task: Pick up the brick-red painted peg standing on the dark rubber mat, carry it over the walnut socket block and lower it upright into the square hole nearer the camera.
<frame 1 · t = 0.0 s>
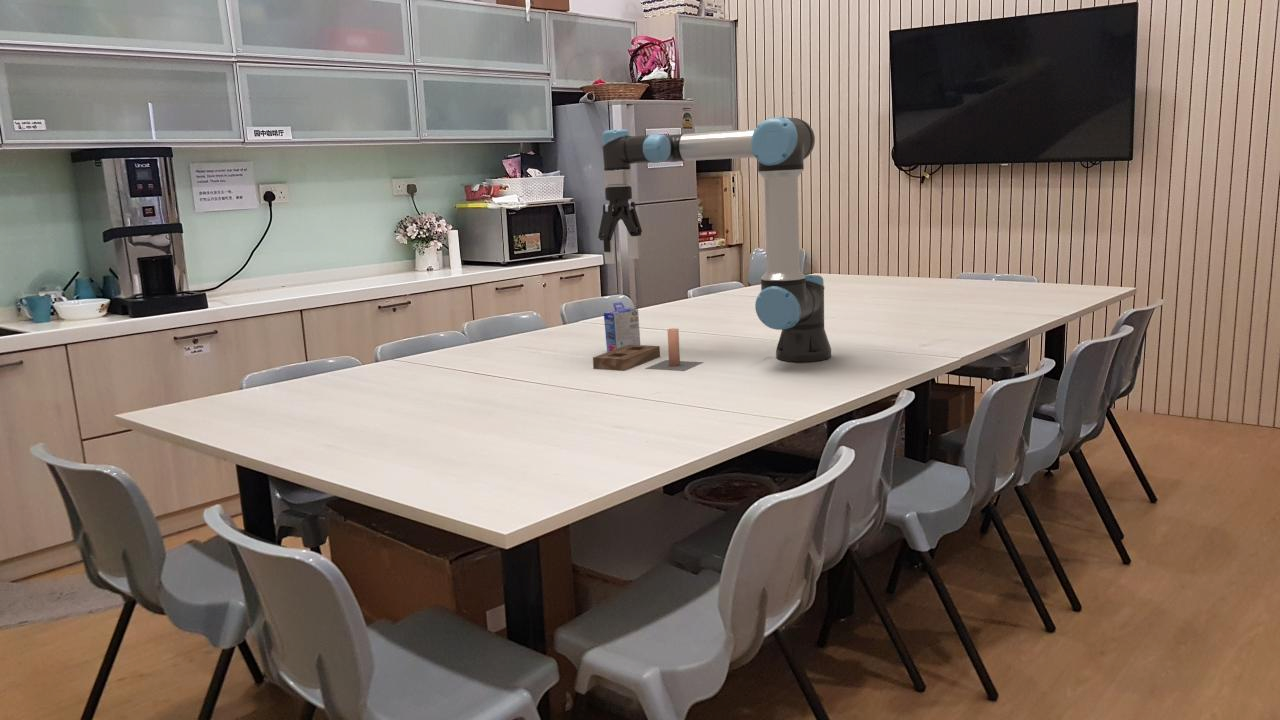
hand: (622, 261, 284), 28 cm above the table, fingers open, 13 cm apart
ink cartridge box: (623, 351, 301), on the table
mat: (674, 366, 272), on the table
socket block: (627, 363, 280), on the table
peg: (674, 365, 272), resting on mat
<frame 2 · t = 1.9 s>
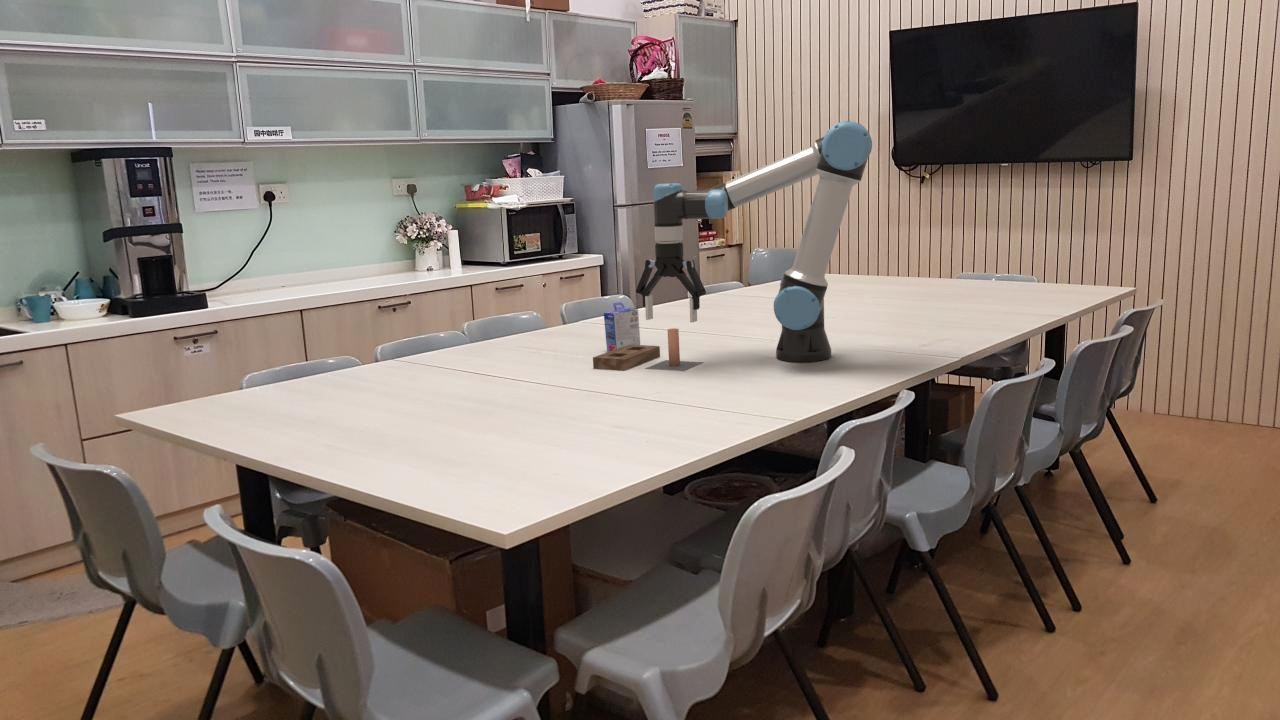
hand: (671, 320, 270), 13 cm above the table, fingers open, 13 cm apart
nothing on the table moved.
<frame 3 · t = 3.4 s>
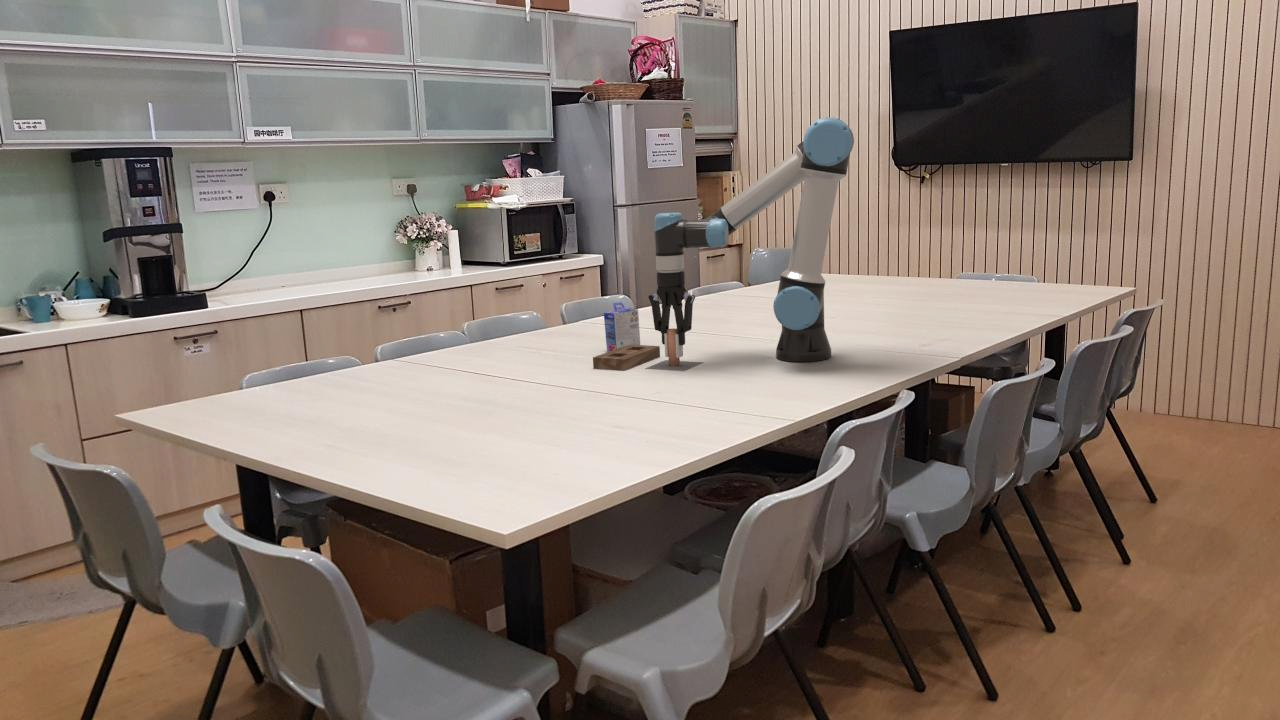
hand: (674, 356, 272), 3 cm above the table, fingers closed on peg, 3 cm apart
peg: (674, 365, 272), resting on mat, touching gripper
everything else where it was.
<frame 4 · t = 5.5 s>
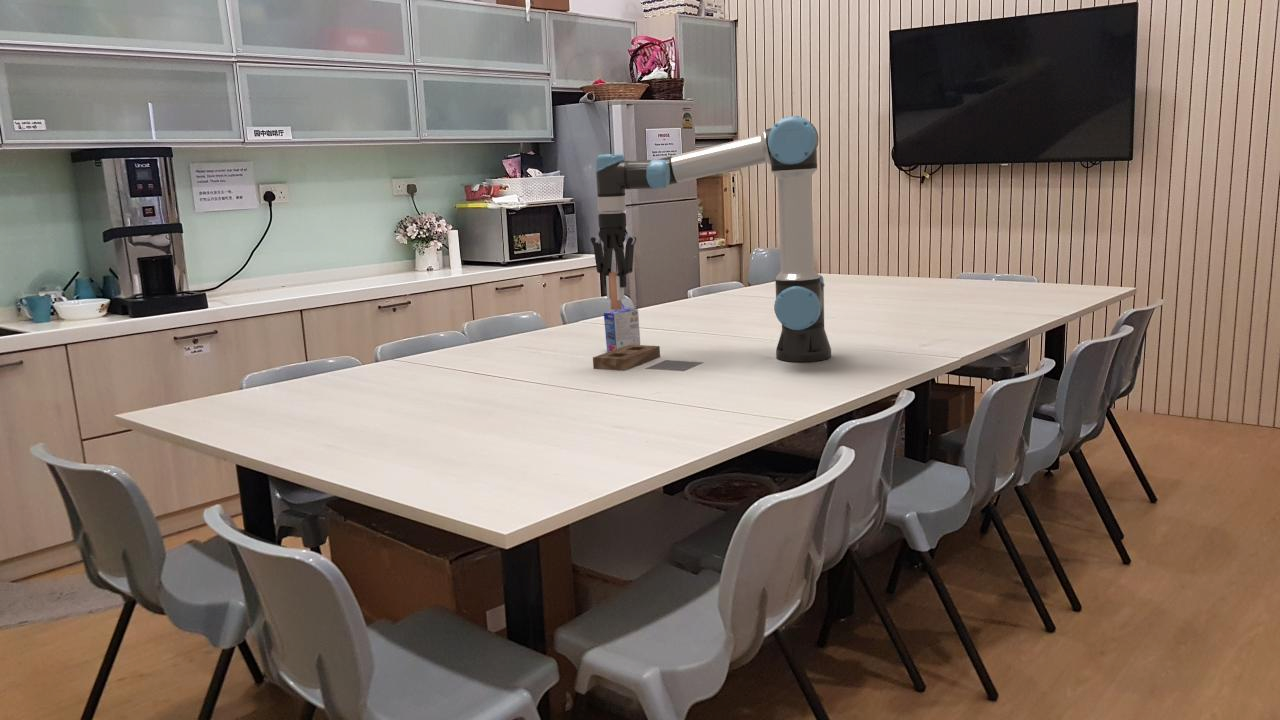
hand: (615, 299, 272), 19 cm above the table, fingers closed on peg, 2 cm apart
peg: (616, 309, 272), point 16 cm above the table, touching gripper
everything else where it was.
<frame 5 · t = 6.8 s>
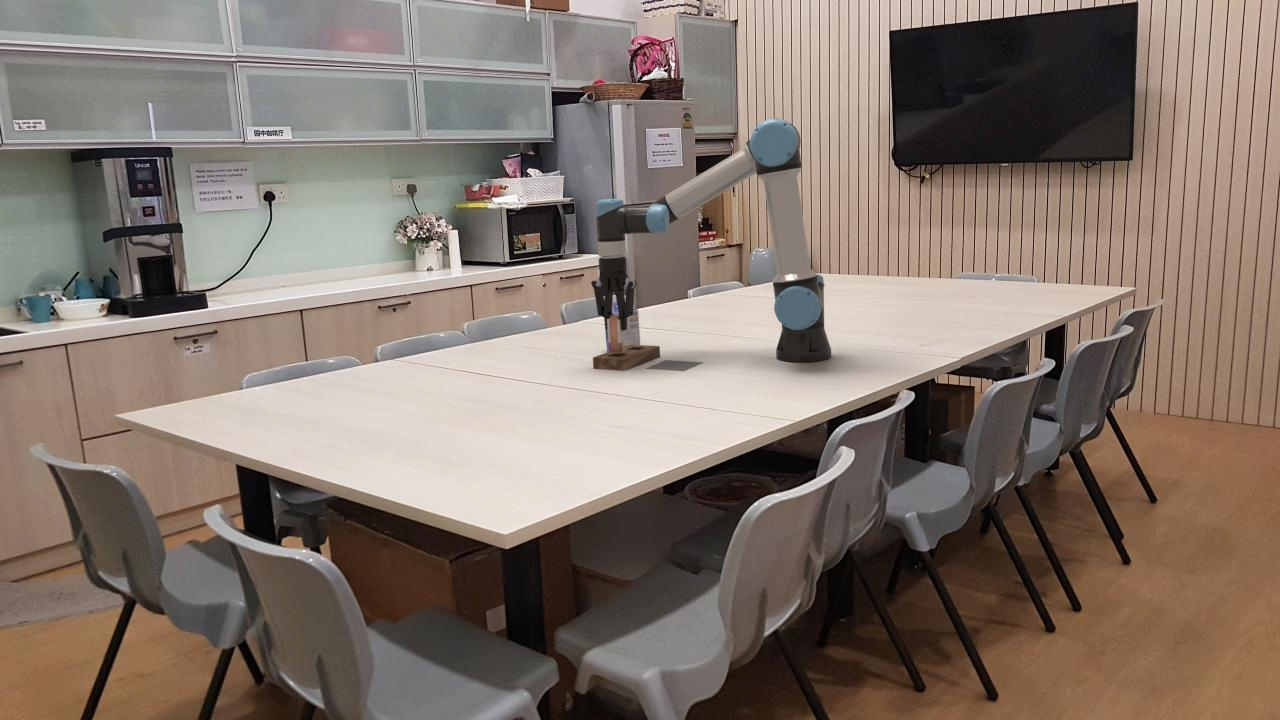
hand: (616, 341, 274), 7 cm above the table, fingers closed on peg, 2 cm apart
peg: (617, 351, 275), point 4 cm above the table, touching gripper
everything else where it was.
when the fingers open (4 cm above the table, at t = 7.6 s): peg drops 1 cm, resting in socket block.
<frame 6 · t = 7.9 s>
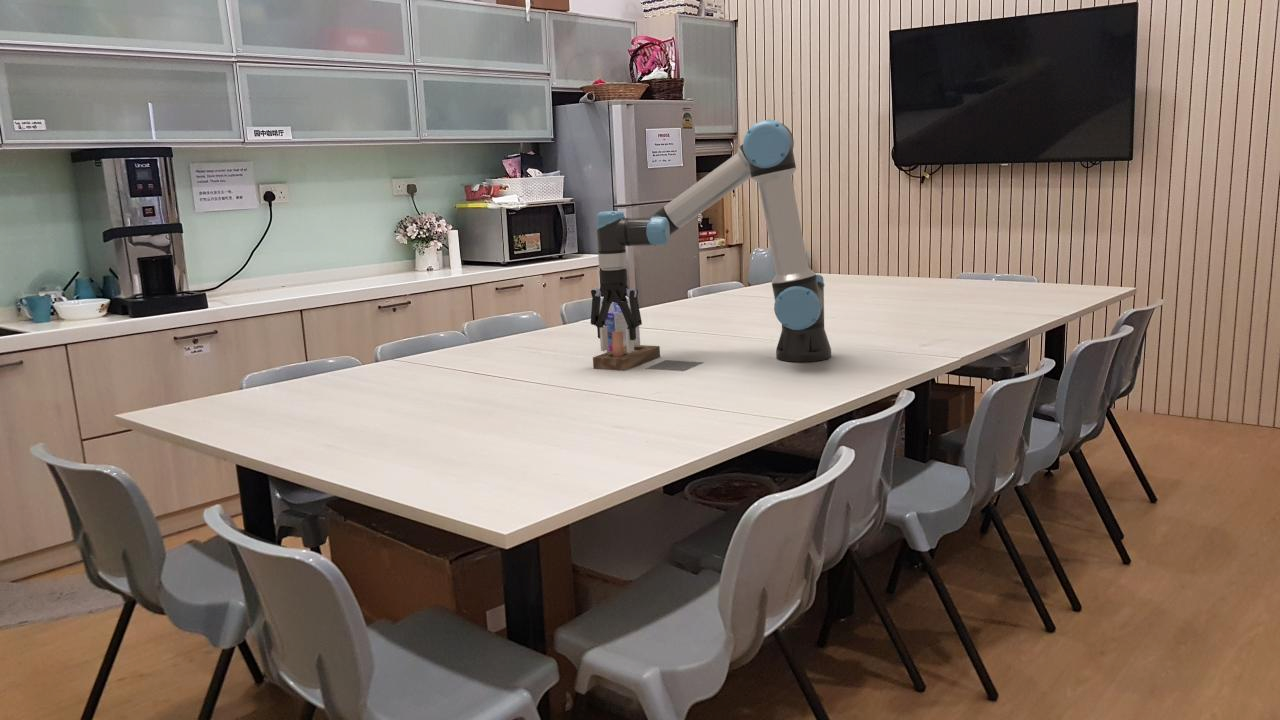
hand: (617, 350, 275), 5 cm above the table, fingers open, 8 cm apart
peg: (618, 367, 275), resting in socket block
everything else where it was.
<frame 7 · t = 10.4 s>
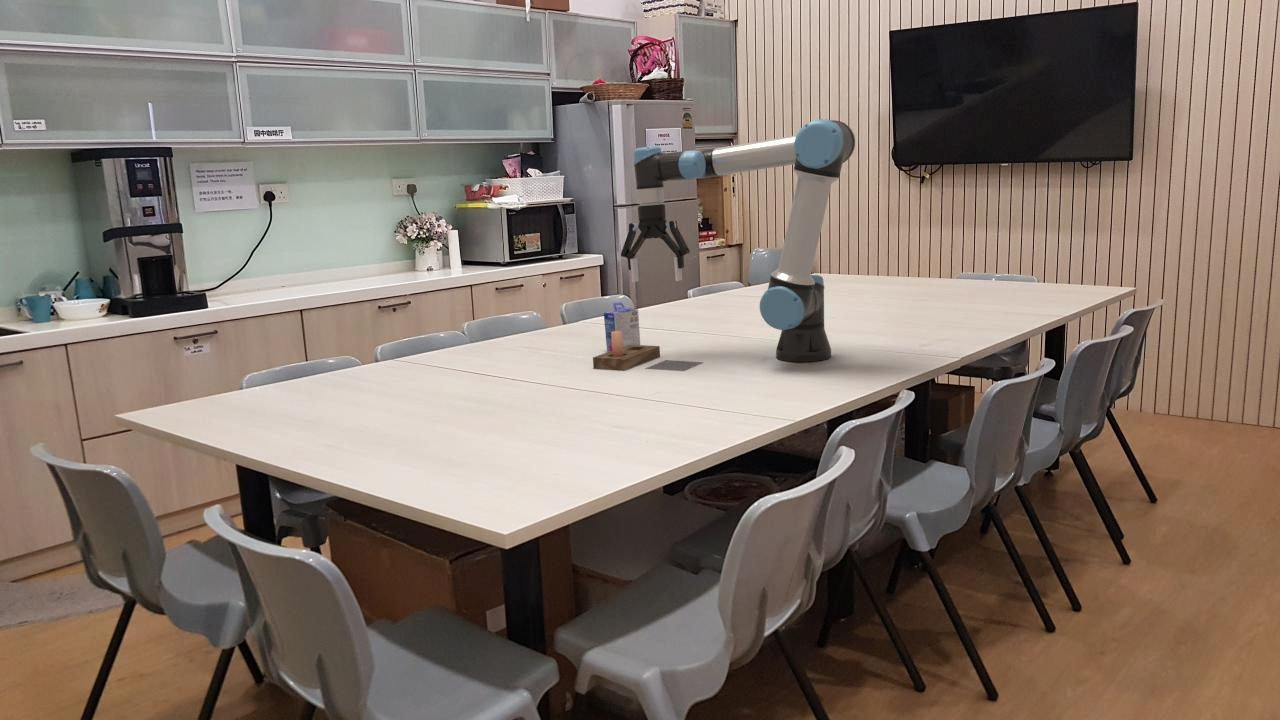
hand: (656, 281, 277), 23 cm above the table, fingers open, 13 cm apart
nothing on the table moved.
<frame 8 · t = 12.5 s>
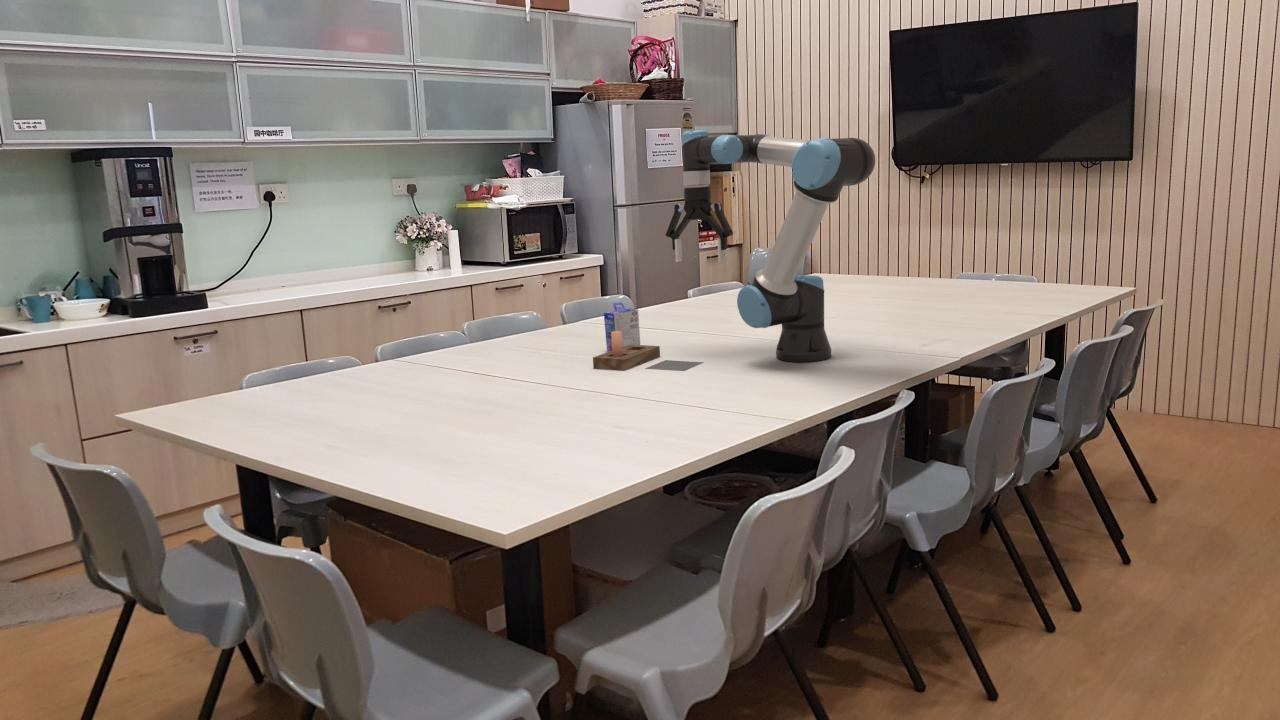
hand: (700, 261, 285), 27 cm above the table, fingers open, 13 cm apart
nothing on the table moved.
at the end: peg 0.1 cm from the target spot on the socket block, point 0.0 cm above the socket block's base; peg tilted 0°; the gripper is holding nothing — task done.
